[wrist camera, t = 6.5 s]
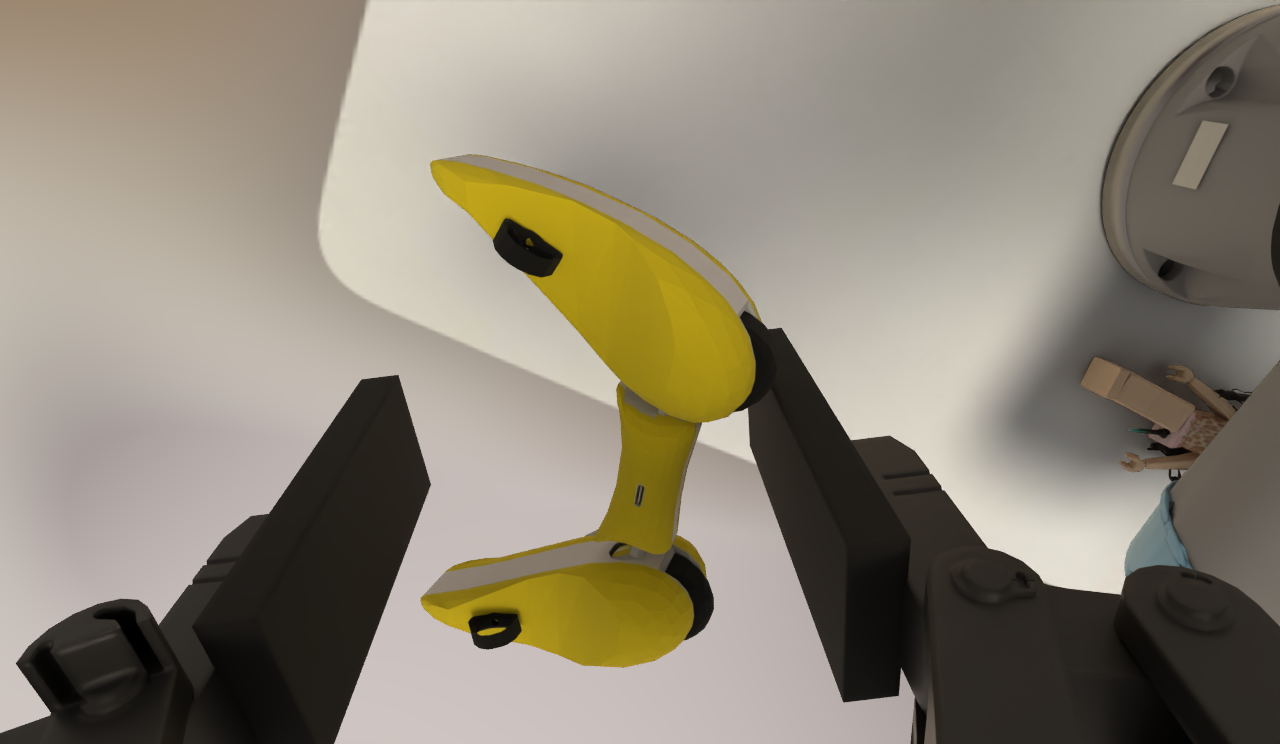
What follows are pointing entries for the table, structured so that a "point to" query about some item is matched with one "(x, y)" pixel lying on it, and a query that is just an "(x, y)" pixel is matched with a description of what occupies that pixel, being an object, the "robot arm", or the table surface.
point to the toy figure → (1164, 413)
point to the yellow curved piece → (648, 404)
